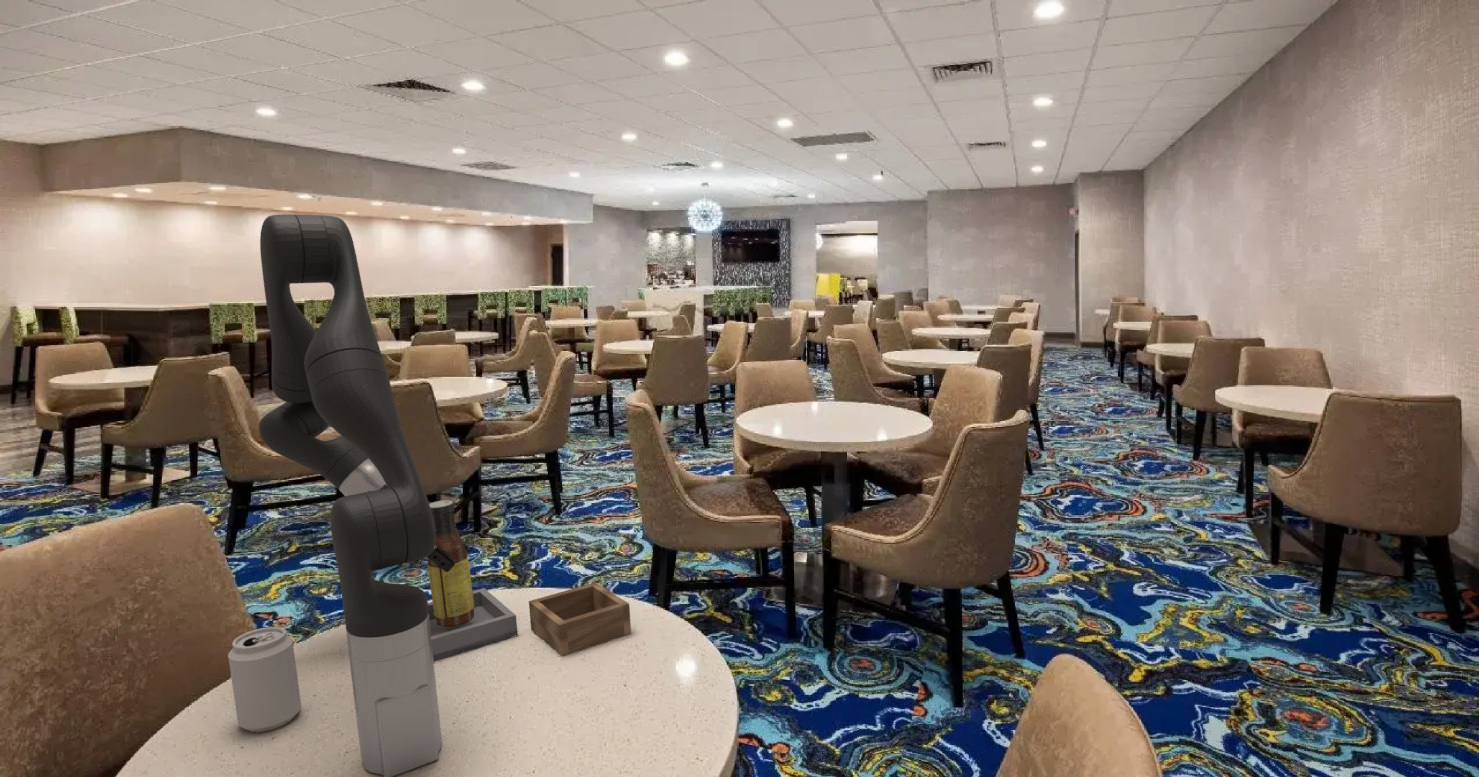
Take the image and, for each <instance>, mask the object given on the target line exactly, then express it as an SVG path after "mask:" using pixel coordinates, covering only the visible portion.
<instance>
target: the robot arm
mask: <svg viewBox="0 0 1479 777" xmlns="http://www.w3.org/2000/svg"><path fill="white" fill-rule="evenodd" d="M259 237H260V240H259V244H260V245H259V246H260V248H259V249H260V260H261V261H260V262H261V263H260V264H261V269H262V271H261V272H262V278H263V279H262V280H263V287H264V288H263V289H264V294H265V295H264V296H265V297H264V298H265V303H266V309H267V310H266V311H267V318H268V323H269V330H270V336H271V338H270V339H271V352H272V353H271V386H272V387H271V388H272V391H273V393H274V395H275V396H276V397H277V398H278V399H279V400H281V401H283V402H284V403H282V404H281V405H279V406H278V407H276V408H274V409H272V410H271V411H269V412H268V413H266V414H265V415H264V416H262V418H261V420H260V421H259V424H258V431H259V435H260V438H261V440H262V441H263V443H264V444H265V445H266V446H267V447H268V448H269V449H270V450H272V451H273V452H275V454H278V455H280V456H281V457H283V458H286V459H289V460H290V461H292V462H294V463H296V464H299V465H301V466H303V467H305V468H306V469H309V470H312V471H314V472H316V473H318V474H319V475H321V476H322V477H323V478H324V479H325V480H326V481H328V482H329V483H330V484H331V485H333V486H334V487H335V488H336V489H337V490H339V491H340V493H342V495H343V496H342V497H339V498H337V499H336V500H334V501H333V502H334V503H333V504H332V506H331V509H330V516H329V517H330V518H329V521H330V524H329V525H330V531H331V540H332V547H333V551H334V556H335V560H336V566H337V571H338V577H339V585H340V592H341V593H340V594H341V599H342V607H343V613H344V614H343V615H344V622H345V632H346V640H347V650H348V658H349V665H350V666H349V667H350V675H351V684H352V691H353V700H354V709H355V719H356V725H357V726H356V727H357V733H358V734H357V735H358V740H359V741H358V742H359V748H360V759H361V765H362V767H363V769H365V770H366V771H367V772H370V773H372V774H375V775H376V774H377V775H381V776H382V777H395V776H398V775H401V774H404V773H406V772H408V771H411V770H414V769H417V768H420V767H421V766H425V765H427V764H430V763H433V762H435V761H437V760H438V759H439V753H440V750H441V749H442V745H443V742H442V741H443V740H442V732H441V731H442V730H441V729H442V728H441V721H440V720H441V719H440V711H439V702H438V693H437V691H438V690H437V682H436V671H435V661H434V660H433V651H432V641H431V630H430V620H429V610H428V603H429V602H428V596H427V595H426V593H425V591H424V590H422V588H420V587H417V586H415V585H410V584H404V583H403V584H402V583H391V582H390V583H389V582H385V581H381V580H377V579H374V578H373V576H372V574H373V572H374V571H379V570H382V569H386V568H392V567H394V566H398V565H399V566H400V565H403V564H407V563H411V562H413V561H418V560H419V561H420V560H422V559H427V558H428V557H429V558H430V559H431V560H432V561H433V562H435V563H436V564H437V565H438V566H439V567H441V568H442V569H443V570H444V571H446V572H448V571H450V570H451V568H452V567H453V566H454V565H455V564H456V560H455V559H454V558H453V557H452V556H450V555H449V554H448V553H447V552H446V551H444V550H443V549H442V548H441V547H439V548H438V545H437V544H436V542H435V541H436V533H435V525H434V520H433V515H432V512H431V508H430V505H429V504H430V503H432V501H429V500H428V497H427V493H426V491H425V489H424V486H423V484H422V480H421V479H420V476H419V473H418V470H417V467H416V465H415V463H414V459H413V457H412V455H411V451H410V449H409V446H408V444H407V441H406V440H407V439H406V437H405V435H404V434H405V433H404V432H403V428H402V425H401V420H400V417H399V414H398V410H397V406H396V403H395V402H396V401H395V398H394V394H393V389H392V386H391V382H390V378H389V375H388V370H387V368H386V364H385V361H384V357H383V354H382V350H381V349H380V346H379V343H378V342H379V341H378V339H377V336H376V333H375V330H374V328H373V327H374V326H373V324H372V321H371V318H370V314H369V310H368V306H367V302H366V298H365V292H364V288H363V282H362V279H361V278H362V277H361V273H360V268H359V264H358V263H359V262H358V258H357V254H356V249H355V244H354V241H353V236H352V233H351V231H350V228H349V226H348V225H347V223H346V222H345V221H344V220H343V219H342V218H340V217H338V216H332V215H325V214H324V215H323V214H322V215H318V214H272V215H268V216H267V217H266V218H264V220H263V223H262V225H261V230H260V236H259ZM321 283H322V284H323V283H327V284H330V285H331V286H332V287H333V293H334V294H333V298H332V300H331V303H330V305H329V308H328V311H327V313H326V314H325V317H324V318H323V320H322V322H321V323H320V325H319V326H318V329H317V330H316V329H315V328H314V326H313V325H312V323H311V322H310V321H309V320H308V319H307V318H306V316H305V315H304V314H303V313H302V311H301V310H300V309H299V307H298V306H297V304H296V303H295V301H294V298H293V296H292V292H291V287H290V286H291V285H290V284H294V285H295V284H321ZM329 427H331V428H332V429H333V430H334V431H336V433H338V434H339V435H340V437H336V438H333V439H330V440H323V439H319V438H317V437H318V436H320V435H321V434H322V433H324V432H325V431H326V430H327V429H328V428H329ZM461 540H462V539H461ZM462 542H463V543H464V545H465V548H466V550H467V552H468V551H469V550H470V545H469V544H468V543H466V542H465V541H464V540H462ZM437 548H438V549H437Z"/></svg>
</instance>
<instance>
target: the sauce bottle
mask: <svg viewBox="0 0 1479 777" xmlns="http://www.w3.org/2000/svg"><path fill="white" fill-rule="evenodd" d="M429 505H430V508H431V512H432V515H433V520H434V525H435V533H436V541H435V542H436V544H437V545H438V548H439V547H441V548H442V549H443V550H444V551H446V552H447V553H448V554H449V555H450V556H452V557H453V558H454V559H455V560H456V564H455V565H454V566H453V567H452V568H451V570H450V571H448V572H446V571H444V570H443V569H442V568H441V567H439V566H438V565H437V564H436V563H435V562H433V561H432V560H431V559H430V558H429V557H428V558H426V560H427V572H428V578H429V585H430V593H431V600H432V601H431V602H433V609H434V615H435V617H436V621H437V624H438V625H439V626H446V627H454V626H459V625H462V624H465V623H467V622H469V621H470V620H472V618H473V617H474V600H473V592H472V591H473V586H472V585H473V584H472V577H471V571H470V564H469V557H468V554H469V553H468V551H467V550H466V548H465V545H464V543H463V542H462V538H461V536H460V535H461V534H460V533H459V530H458V528H457V524H456V519H455V513H454V512H455V508H456V507H455V504H454V501H452V500H447V499H444V500H438V501H433V502H431V503H430V504H429ZM438 548H437V549H438Z"/></svg>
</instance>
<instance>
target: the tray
mask: <svg viewBox="0 0 1479 777" xmlns="http://www.w3.org/2000/svg"><path fill="white" fill-rule="evenodd" d="M472 592H473V600H474V617H473V618H472V620H470V621H469V622H467V623H465V624H462V625H459V626H454V627H446V626H439V625H438V624H437V621H436V617H435V615H434V609H433V602H432V601H431V602H428V610H429V620H430V630H431V641H432V651H433V660H434V662H436V661H439V660H443V659H445V658H449V657H452V656H456V655H459V654H462V653H466V652H469V651H471V650H475V649H478V648H482V647H484V646H488V645H492V644H494V643H498V642H501V640H502V641H504V640H508V639H511V637H512V636H515V635H518V636H519V634H518V623H517V614H515V613H514V612H513V611H511V609H510V608H508V607H507V606H506V605H505V604H503V602H501V601H500V600H499V599H498V598H497V597H495V596H494V595H493V594H492V593H491V592H489V590H487V589H486V588H485V587H483V588H480V589H475V590H472ZM515 637H516V636H515ZM507 638H508V639H507ZM512 638H513V637H512ZM468 650H469V651H468Z"/></svg>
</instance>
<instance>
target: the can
mask: <svg viewBox="0 0 1479 777" xmlns="http://www.w3.org/2000/svg"><path fill="white" fill-rule="evenodd" d="M231 644H232V648H231V650H230V651H229V652H228V654H227V657H228V658H227V659H228V663H229V664H228V665H229V671H230V678H231V685H232V692H233V699H234V705H235V713H236V719H237V720H236V721H237V725H238V726H239V727H240V728H241V729H245V730H246V731H248V732H254V733H261V732H262V733H263V732H267V731H270V730H274V729H277V728H280V727H282V726H285V725H286V724H288V723H289V722H291V720H293V719H294V717H295V716H296V715H297V713H298V712H299V711H301V708H302V702H301V695H300V686H299V679H298V672H297V665H296V664H297V663H296V657H295V656H296V655H295V650H294V649H295V648H294V642H293V637H291V636H289V635H287V630H286V629H285V628H283V627H278V626H267V627H262V628H258V629H253V630H250V631H248V632H244V633H243V634H240V635H239V636H238V637H235V639H234V640H233V641H232V643H231Z"/></svg>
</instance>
